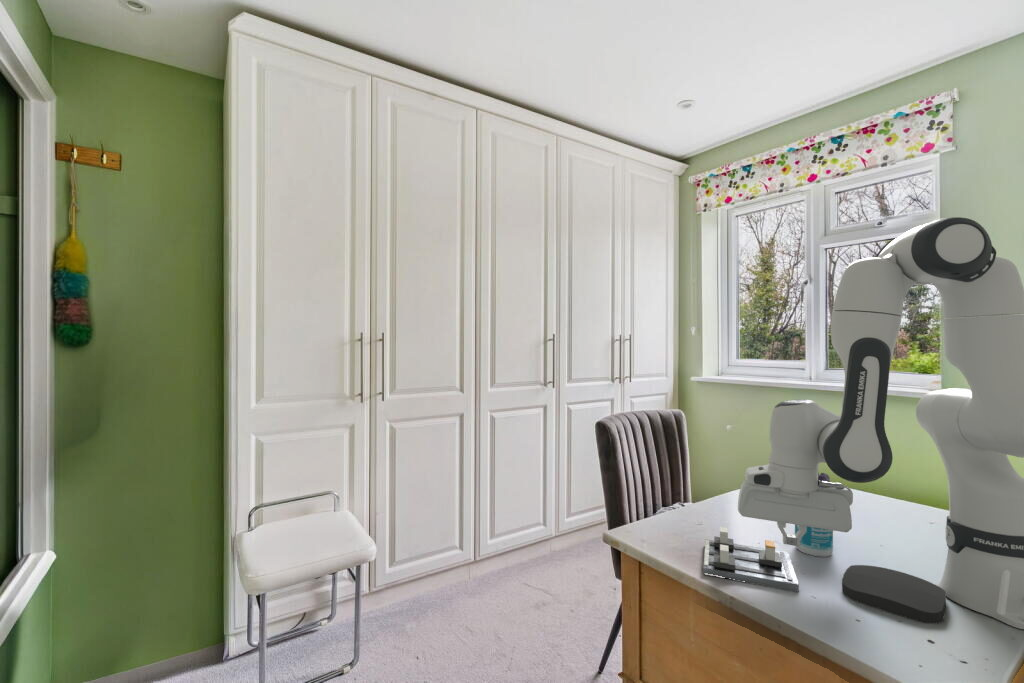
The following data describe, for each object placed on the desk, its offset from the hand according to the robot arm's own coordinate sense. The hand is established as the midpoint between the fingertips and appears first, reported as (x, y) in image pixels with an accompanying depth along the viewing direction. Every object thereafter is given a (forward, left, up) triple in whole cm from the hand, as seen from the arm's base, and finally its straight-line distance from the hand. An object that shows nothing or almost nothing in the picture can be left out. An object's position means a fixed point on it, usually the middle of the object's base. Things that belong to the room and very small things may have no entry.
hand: (791, 544), depth 97 cm
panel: (+8, 0, -6) cm, 10 cm away
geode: (-11, -54, -7) cm, 55 cm away
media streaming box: (-16, +2, -7) cm, 18 cm away
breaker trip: (+4, 0, -4) cm, 6 cm away
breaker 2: (+13, +5, -4) cm, 14 cm away
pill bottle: (-6, -15, -6) cm, 18 cm away
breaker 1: (+13, -6, -4) cm, 14 cm away
